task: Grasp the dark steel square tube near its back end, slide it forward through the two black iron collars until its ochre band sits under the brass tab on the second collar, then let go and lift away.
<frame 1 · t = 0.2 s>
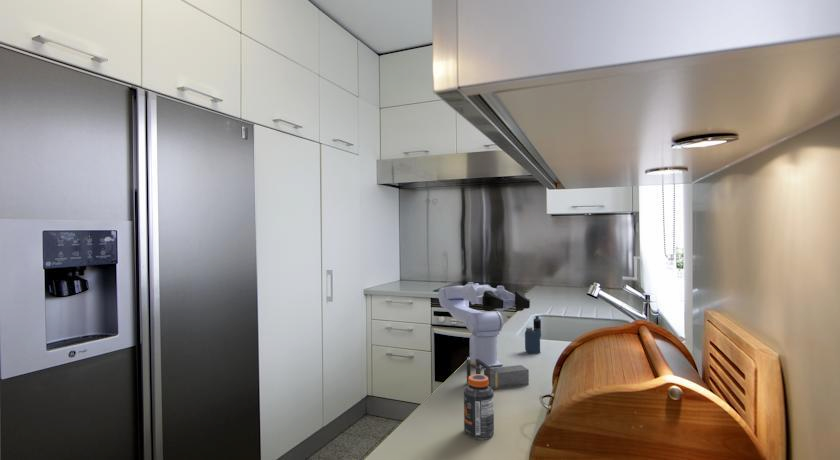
hand: (515, 304, 111), 21 cm above the countertop, tool horizontal, fingers open, 7 cm apart
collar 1: (482, 386, 110), on the countertop
vaping device: (533, 352, 141), on the countertop
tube: (506, 384, 112), on the countertop
collar 2: (473, 388, 109), on the countertop
pill bottle: (479, 434, 85), on the countertop
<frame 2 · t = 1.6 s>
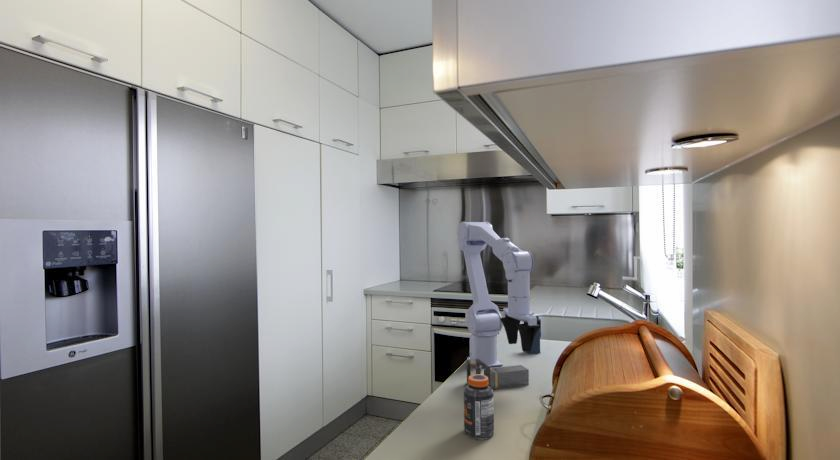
hand: (519, 347, 113), 9 cm above the countertop, tool pointing down, fingers open, 7 cm apart
nothing on the countertop moved.
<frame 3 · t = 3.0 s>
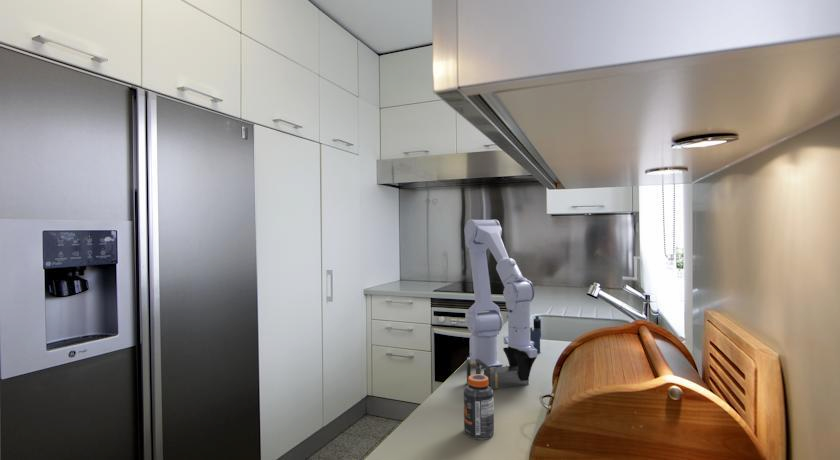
hand: (519, 377, 113), 1 cm above the countertop, tool pointing down, fingers closed on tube, 4 cm apart
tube: (506, 384, 112), on the countertop, touching gripper
everything else where it was.
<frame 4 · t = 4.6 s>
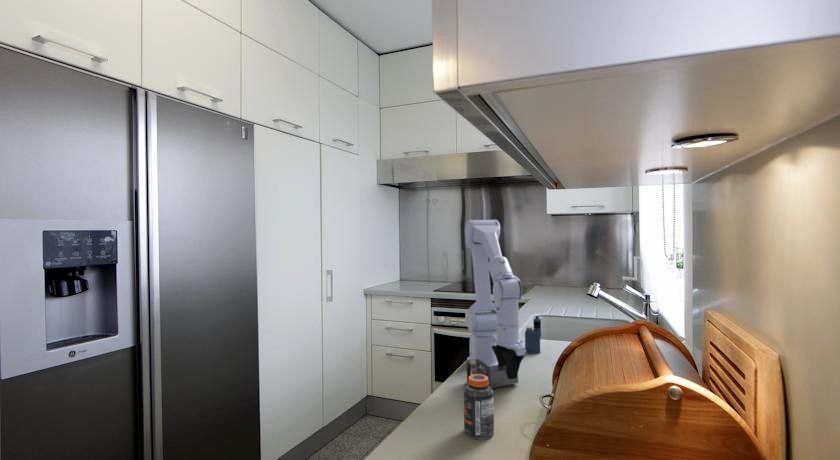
hand: (508, 375, 112), 2 cm above the countertop, tool pointing down, fingers closed on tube, 4 cm apart
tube: (495, 384, 111), on the countertop, touching gripper
everything else where it was.
when the fingers open (2 cm above the countertop, at t = 6.2 s): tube stays where it is, on the countertop.
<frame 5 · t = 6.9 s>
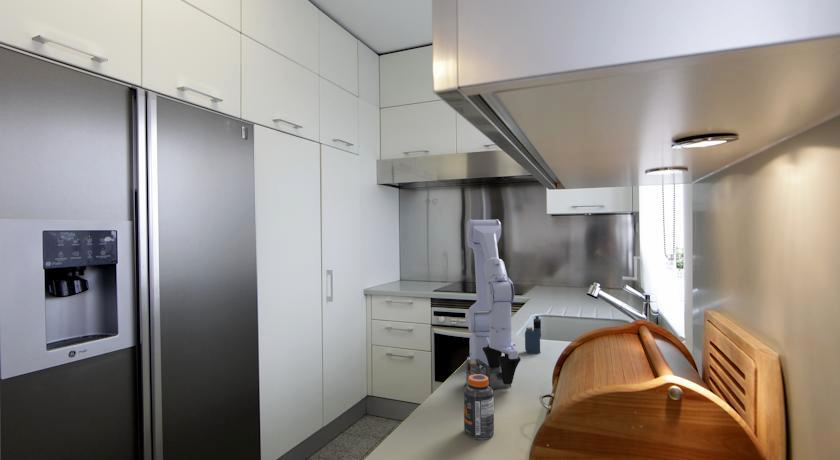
hand: (501, 378, 111), 2 cm above the countertop, tool pointing down, fingers open, 7 cm apart
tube: (488, 386, 110), on the countertop
everything else where it was.
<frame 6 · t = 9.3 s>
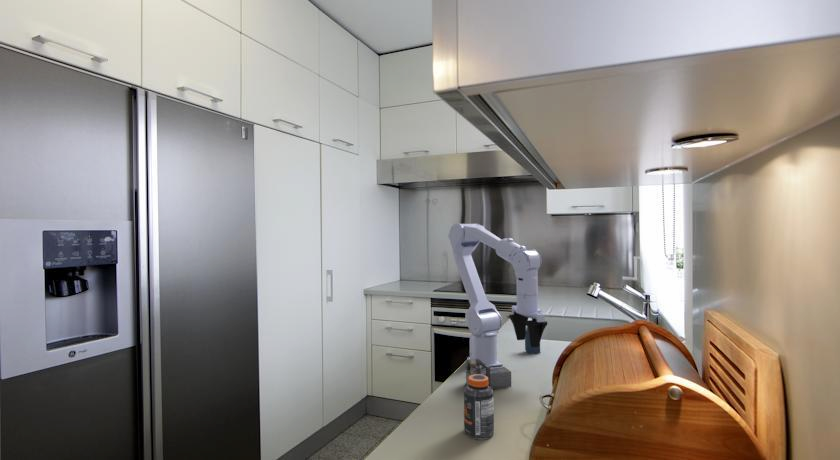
hand: (527, 343, 117), 9 cm above the countertop, tool pointing down, fingers open, 7 cm apart
nothing on the countertop moved.
at the end: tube 0.5 cm from the target spot, on the countertop; the gripper is holding nothing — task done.
